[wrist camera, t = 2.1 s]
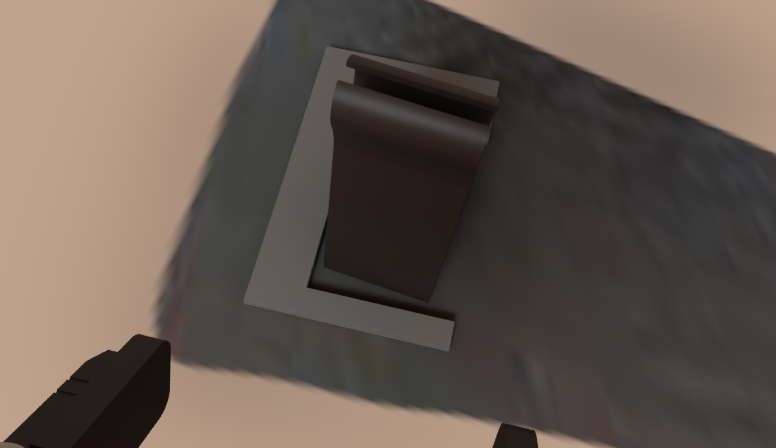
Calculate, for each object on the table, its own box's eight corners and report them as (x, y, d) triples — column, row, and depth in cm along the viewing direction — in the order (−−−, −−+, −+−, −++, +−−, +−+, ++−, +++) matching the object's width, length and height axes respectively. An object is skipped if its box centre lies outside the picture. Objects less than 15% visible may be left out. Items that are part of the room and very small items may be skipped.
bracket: (497, 86, 35) (499, 81, 35) (447, 351, 29) (449, 350, 29) (327, 50, 36) (327, 45, 35) (245, 303, 30) (242, 301, 30)
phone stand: (379, 132, 34) (382, -19, 23) (474, 163, 33) (525, 24, 22) (323, 268, 31) (294, 170, 20) (427, 304, 30) (459, 225, 19)
